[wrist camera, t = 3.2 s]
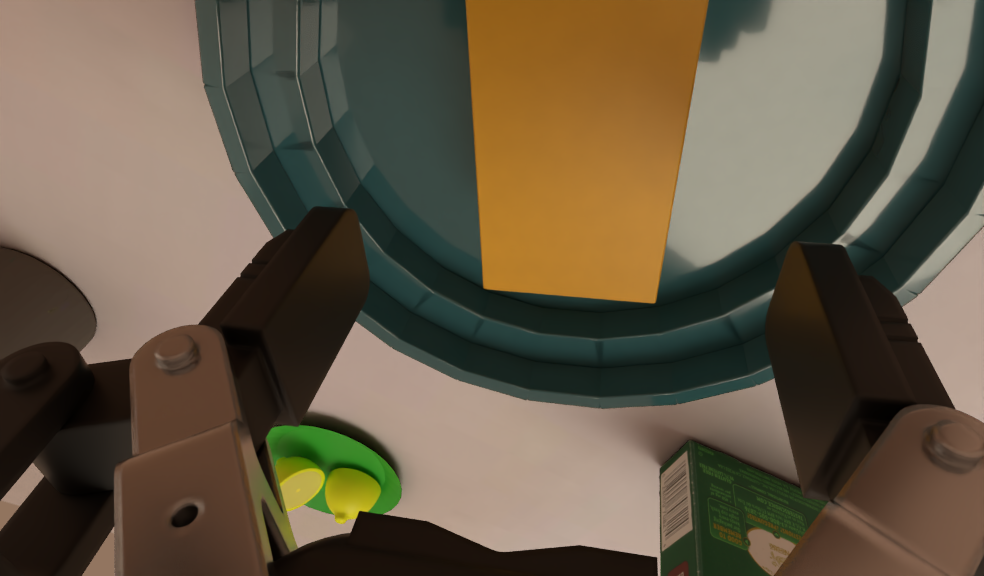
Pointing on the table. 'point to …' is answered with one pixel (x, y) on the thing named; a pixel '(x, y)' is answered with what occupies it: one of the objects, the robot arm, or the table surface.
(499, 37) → the block
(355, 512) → the lemons on green plate
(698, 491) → the coffee box
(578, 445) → the table surface
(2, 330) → the bottle
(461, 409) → the table surface
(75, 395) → the robot arm
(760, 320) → the teal plate
